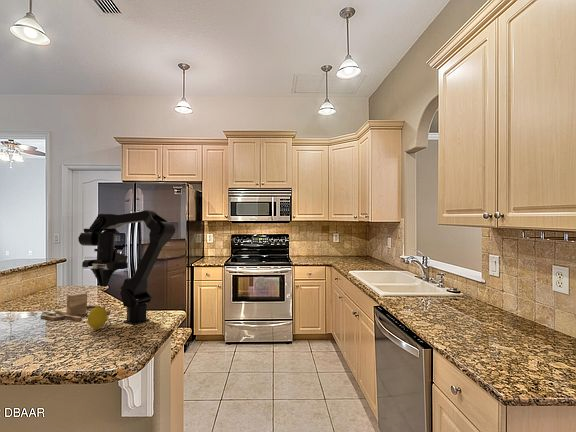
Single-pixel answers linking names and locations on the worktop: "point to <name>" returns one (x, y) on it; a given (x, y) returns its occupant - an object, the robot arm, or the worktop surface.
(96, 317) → the lemon
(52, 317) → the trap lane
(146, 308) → the robot arm
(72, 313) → the oak bookend
